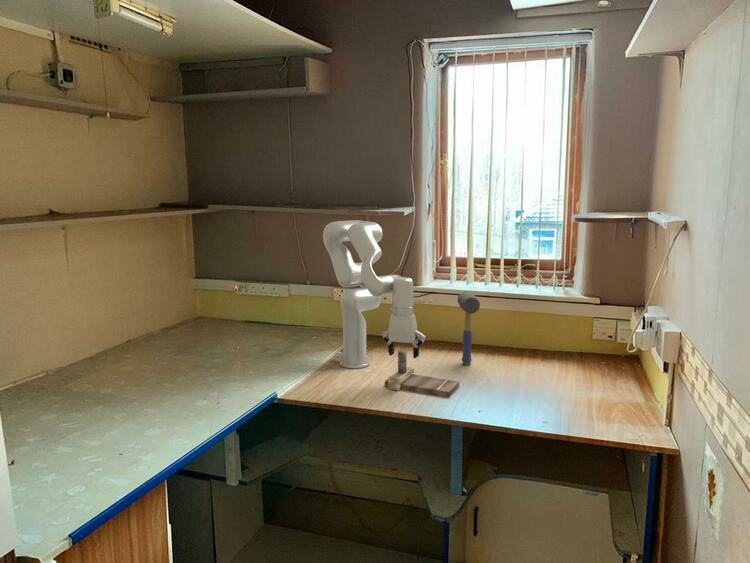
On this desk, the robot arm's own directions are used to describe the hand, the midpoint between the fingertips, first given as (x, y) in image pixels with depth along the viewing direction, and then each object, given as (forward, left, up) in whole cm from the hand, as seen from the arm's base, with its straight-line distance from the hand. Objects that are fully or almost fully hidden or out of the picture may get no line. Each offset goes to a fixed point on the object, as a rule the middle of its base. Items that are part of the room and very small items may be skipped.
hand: (403, 356), depth 214 cm
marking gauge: (-1, 0, -11) cm, 11 cm away
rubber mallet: (+15, +33, -11) cm, 38 cm away
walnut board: (+7, 0, -11) cm, 13 cm away
